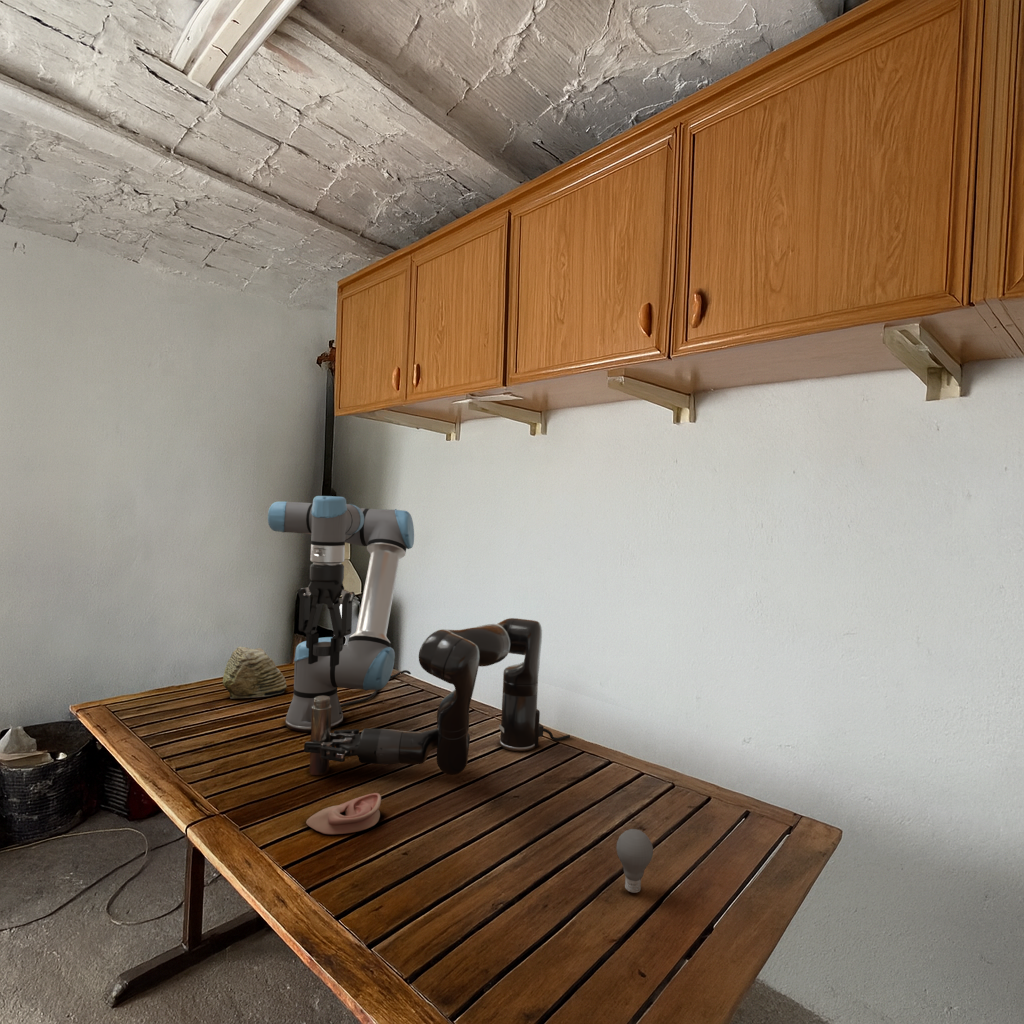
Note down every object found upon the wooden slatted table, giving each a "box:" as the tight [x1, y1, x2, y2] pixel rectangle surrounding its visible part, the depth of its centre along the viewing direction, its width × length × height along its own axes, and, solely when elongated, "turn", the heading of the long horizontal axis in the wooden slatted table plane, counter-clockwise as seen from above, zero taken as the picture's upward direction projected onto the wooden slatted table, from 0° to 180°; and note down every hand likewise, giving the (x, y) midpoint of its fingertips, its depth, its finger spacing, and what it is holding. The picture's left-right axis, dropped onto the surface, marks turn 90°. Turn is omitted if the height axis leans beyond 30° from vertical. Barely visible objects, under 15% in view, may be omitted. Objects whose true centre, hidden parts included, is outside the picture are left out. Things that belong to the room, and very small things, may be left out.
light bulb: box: [615, 828, 654, 894], centre depth 106 cm, size 6×6×10 cm
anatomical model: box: [305, 792, 382, 835], centre depth 124 cm, size 13×4×12 cm
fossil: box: [222, 646, 288, 699], centre depth 198 cm, size 9×18×15 cm, turn 132°
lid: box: [313, 642, 331, 656], centre depth 146 cm, size 5×5×2 cm
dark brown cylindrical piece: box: [309, 696, 332, 776], centre depth 146 cm, size 4×4×17 cm
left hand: (323, 663), depth 146 cm, fingers closed on lid, 5 cm apart
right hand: (308, 742), depth 146 cm, fingers closed on dark brown cylindrical piece, 4 cm apart
